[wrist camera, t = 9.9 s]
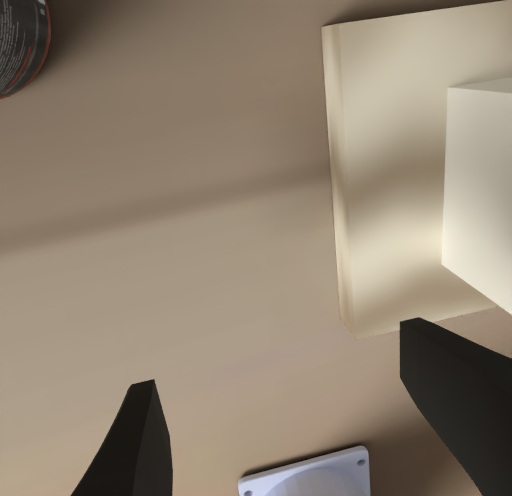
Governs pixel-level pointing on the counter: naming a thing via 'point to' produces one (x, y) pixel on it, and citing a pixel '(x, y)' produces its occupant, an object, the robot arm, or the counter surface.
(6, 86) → the supplement bottle
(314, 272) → the counter surface
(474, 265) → the housing
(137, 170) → the counter surface
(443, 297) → the stand
